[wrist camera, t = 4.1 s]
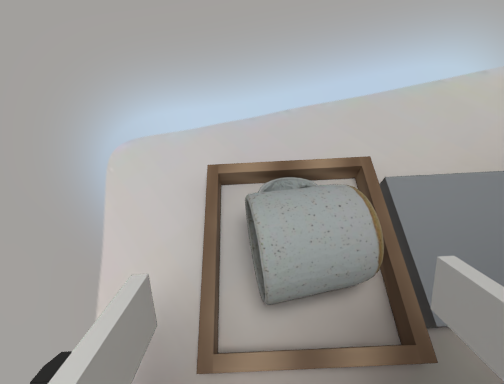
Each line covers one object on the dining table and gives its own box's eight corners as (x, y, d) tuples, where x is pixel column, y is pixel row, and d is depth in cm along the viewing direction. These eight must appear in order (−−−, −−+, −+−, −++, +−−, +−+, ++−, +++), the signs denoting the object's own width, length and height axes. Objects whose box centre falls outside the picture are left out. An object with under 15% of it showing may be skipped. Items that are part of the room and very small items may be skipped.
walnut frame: (362, 168, 26) (370, 156, 24) (421, 361, 18) (438, 362, 16) (211, 176, 26) (207, 164, 24) (202, 371, 18) (196, 373, 16)
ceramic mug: (366, 289, 21) (414, 260, 14) (263, 313, 20) (263, 294, 13) (320, 178, 26) (340, 120, 19) (238, 194, 25) (230, 140, 19)
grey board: (506, 179, 25) (519, 170, 24) (592, 319, 19) (617, 318, 18) (378, 185, 25) (385, 177, 24) (425, 327, 19) (437, 326, 18)
